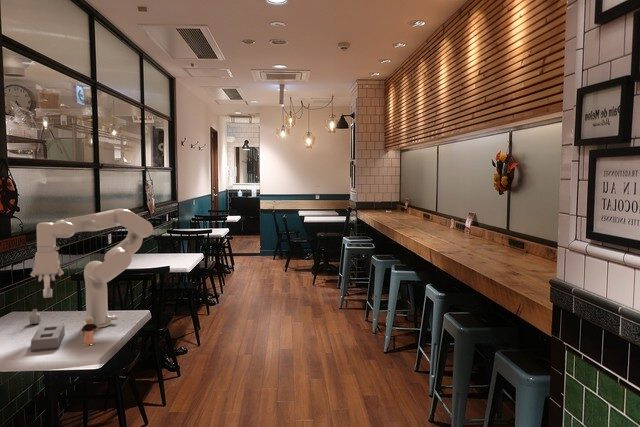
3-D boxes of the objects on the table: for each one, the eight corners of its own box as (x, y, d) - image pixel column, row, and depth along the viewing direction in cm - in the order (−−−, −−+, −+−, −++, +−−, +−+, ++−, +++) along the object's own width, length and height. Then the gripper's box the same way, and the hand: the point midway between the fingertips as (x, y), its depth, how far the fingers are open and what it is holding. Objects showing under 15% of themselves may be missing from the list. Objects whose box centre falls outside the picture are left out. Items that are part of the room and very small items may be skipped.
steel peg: (52, 295, 228) (52, 270, 227) (51, 297, 225) (50, 271, 224) (44, 296, 227) (43, 270, 226) (42, 298, 224) (41, 271, 223)
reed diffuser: (43, 324, 241) (41, 284, 240) (26, 327, 237) (25, 286, 235) (38, 320, 249) (36, 281, 247) (22, 322, 244) (21, 283, 243)
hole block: (64, 334, 226) (64, 324, 226) (58, 349, 208) (58, 337, 207) (40, 337, 223) (39, 326, 223) (31, 352, 204) (30, 340, 204)
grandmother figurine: (84, 348, 210) (83, 318, 209) (79, 346, 212) (78, 317, 211) (100, 342, 216) (100, 314, 215) (95, 341, 218) (94, 313, 217)
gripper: (68, 247, 231) (68, 286, 232) (28, 248, 225) (29, 288, 227) (65, 250, 224) (66, 289, 225) (23, 251, 218) (24, 292, 220)
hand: (47, 288), depth 226 cm, fingers closed on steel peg, 3 cm apart
